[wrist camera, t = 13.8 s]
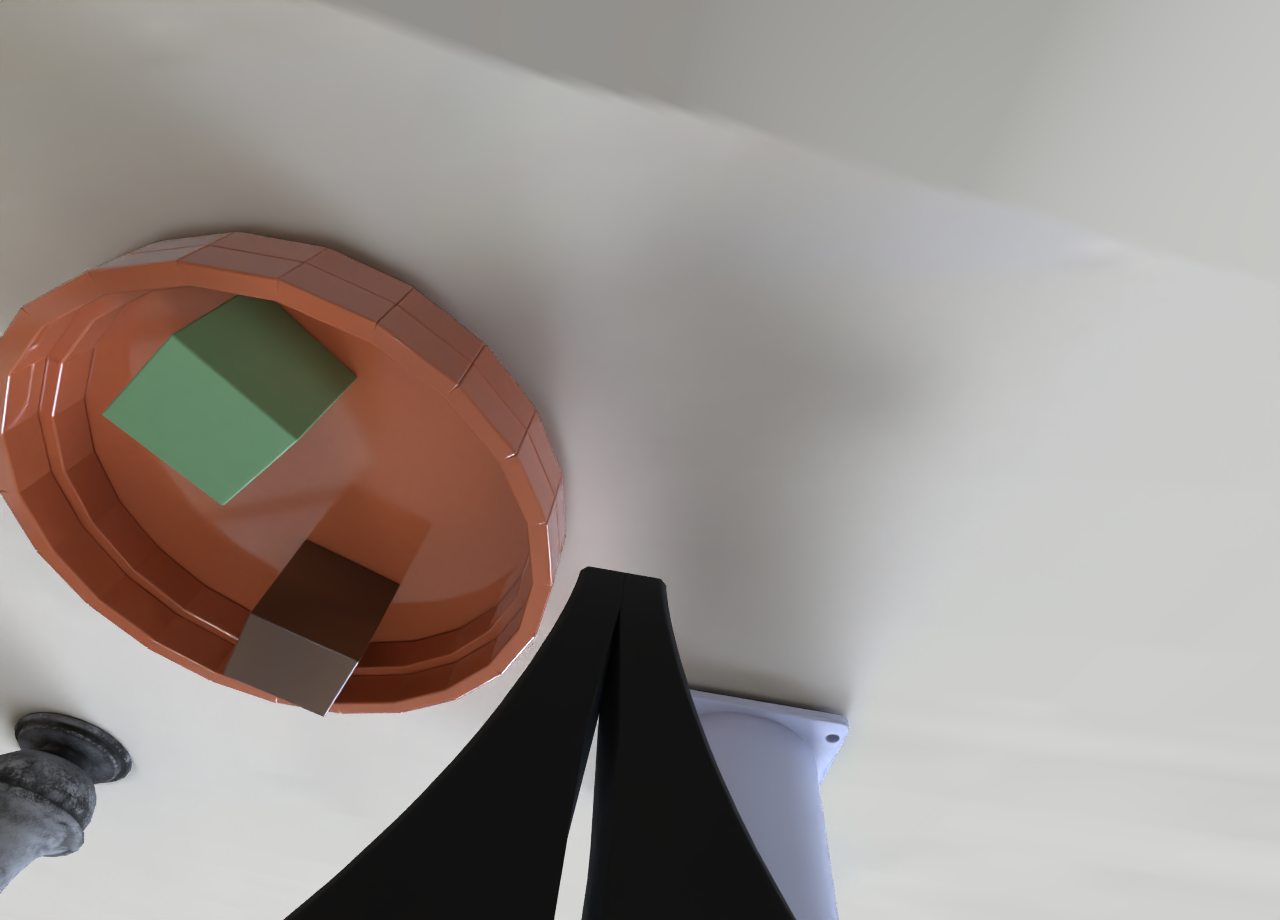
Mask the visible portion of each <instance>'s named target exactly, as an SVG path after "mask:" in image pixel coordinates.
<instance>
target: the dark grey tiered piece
mask: <svg viewBox="0 0 1280 920" xmlns="http://www.w3.org/2000/svg"><path fill="white" fill-rule="evenodd" d="M15 737H16V739H17V741H18V743H19V746H20V748H21V751H16V752H11V753H7V754H3V755H0V893H1V892H2V891H3V890H4V888H5V887H6V886H7V885H8V883H9V882H10V881H11V880H12V879H13V878H14V877H15V876H16V875H17V874H18V873H19V872H20V871H21V870H23V869H24V868H25V867H26V866H27V865H28V864H30V863H31V862H32V861H33V860H34V859H36V858H38V857H41V856H45V857H58V856H66V855H69V854H71V853H73V852H76V851H78V849H79V848H80V847H81V846H82V844H83V843H84V832H83V831H84V829H85V828H86V827H87V825H88V824H89V823H90V821H91V818H92V815H93V812H94V809H95V805H96V793H95V787H94V784H98V783H107V782H113V781H118V780H120V779H122V778H124V777H125V776H126V775H127V774H128V772H129V771H130V770H131V763H132V762H131V759H130V757H129V754H128V753H127V751H126V750H125V749H124V748H123V746H122V745H121V744H120V743H118V742H117V741H116V740H115V739H114V738H112V737H111V736H110V735H108V734H107V733H105V732H103V731H102V730H100V729H99V728H97V727H95V726H92V725H90V724H88V723H86V722H84V721H81V720H78V719H75V718H72V717H69V716H64V715H59V714H53V713H35V714H30V715H27V716H25V717H23V718H22V719H20V720H19V721H18V723H17V724H16V726H15Z"/></svg>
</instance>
